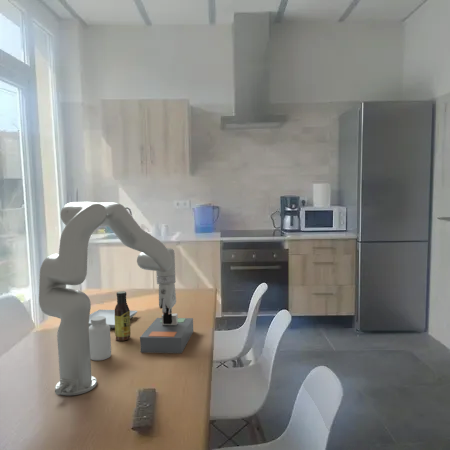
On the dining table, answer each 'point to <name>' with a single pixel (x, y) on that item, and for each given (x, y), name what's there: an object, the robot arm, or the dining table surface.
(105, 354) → the pill bottle
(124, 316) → the sauce bottle
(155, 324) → the switch box
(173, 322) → the switch knob
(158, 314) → the dining table surface
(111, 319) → the salad plate
